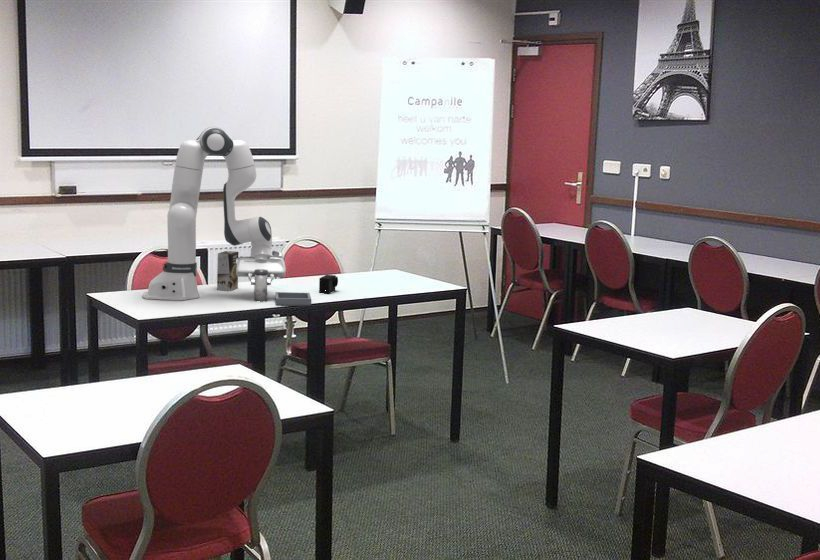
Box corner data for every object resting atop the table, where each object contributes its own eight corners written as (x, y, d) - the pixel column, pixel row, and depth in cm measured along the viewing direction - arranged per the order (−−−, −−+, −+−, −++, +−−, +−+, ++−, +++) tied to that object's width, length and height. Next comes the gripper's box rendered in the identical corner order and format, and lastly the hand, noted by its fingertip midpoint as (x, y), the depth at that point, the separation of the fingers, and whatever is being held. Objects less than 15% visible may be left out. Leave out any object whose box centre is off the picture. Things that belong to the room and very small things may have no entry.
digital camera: (331, 294, 413) (331, 278, 412) (318, 293, 414) (319, 277, 413) (337, 291, 423) (338, 275, 422) (326, 290, 424) (326, 274, 423)
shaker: (253, 301, 389) (254, 271, 387) (253, 299, 394) (254, 269, 392) (267, 301, 390) (267, 271, 388) (267, 299, 395) (267, 269, 393)
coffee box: (230, 291, 410) (231, 253, 407) (216, 290, 411) (216, 252, 409) (238, 288, 419) (239, 251, 416) (224, 286, 420) (225, 250, 417)
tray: (275, 305, 382) (276, 298, 382) (275, 299, 396) (275, 292, 395) (311, 306, 384) (311, 298, 384) (309, 299, 398) (309, 292, 398)
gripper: (235, 251, 394) (235, 279, 386) (285, 253, 397) (286, 280, 389) (235, 261, 399) (235, 288, 391) (285, 262, 402) (285, 289, 394)
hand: (260, 284), depth 390 cm, fingers closed on shaker, 5 cm apart
